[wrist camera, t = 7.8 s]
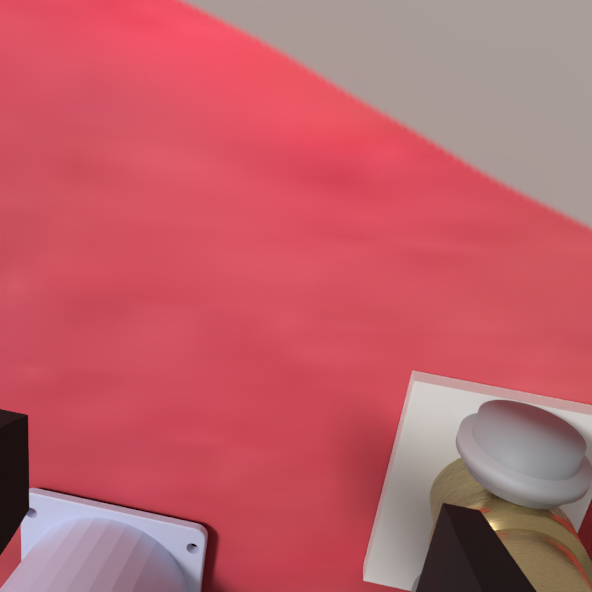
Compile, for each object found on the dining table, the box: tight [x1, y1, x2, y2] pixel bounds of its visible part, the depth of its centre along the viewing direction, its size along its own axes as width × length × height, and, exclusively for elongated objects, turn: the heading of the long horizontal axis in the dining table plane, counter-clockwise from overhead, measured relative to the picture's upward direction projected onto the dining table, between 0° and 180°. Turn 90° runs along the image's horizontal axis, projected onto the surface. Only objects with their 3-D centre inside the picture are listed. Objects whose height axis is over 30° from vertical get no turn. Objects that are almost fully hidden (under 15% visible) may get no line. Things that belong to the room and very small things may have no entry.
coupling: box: [429, 458, 592, 592], centre depth 17 cm, size 5×5×6 cm
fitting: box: [363, 370, 592, 592], centre depth 18 cm, size 9×7×4 cm
